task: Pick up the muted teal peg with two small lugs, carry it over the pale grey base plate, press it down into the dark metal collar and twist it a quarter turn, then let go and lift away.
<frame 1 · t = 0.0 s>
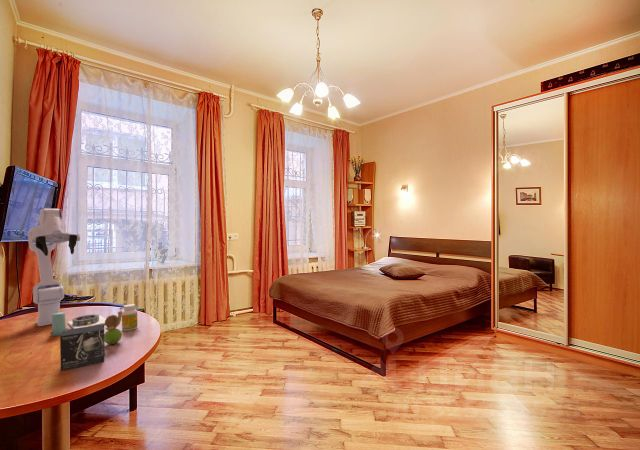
hand: (59, 252, 118), 32 cm above the table, tool tilted 50°, fingers open, 7 cm apart
box: (84, 363, 96), on the table
collar plate: (88, 323, 135), on the table
supplement bottle: (129, 329, 126), on the table
teal peg: (59, 333, 122), on the table
snail figurine: (114, 343, 111), on the table
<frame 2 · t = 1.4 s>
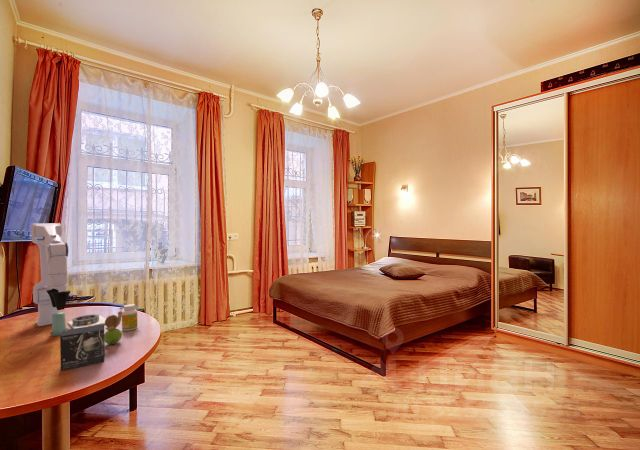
hand: (58, 308, 122), 10 cm above the table, tool pointing down, fingers open, 7 cm apart
nothing on the table moved.
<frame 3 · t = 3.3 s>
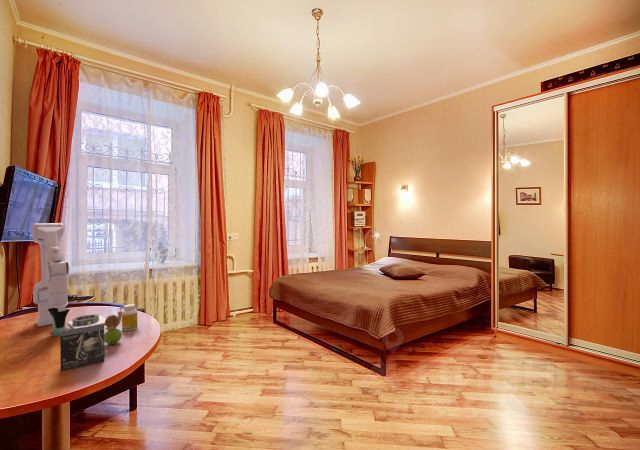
hand: (58, 326, 122), 3 cm above the table, tool pointing down, fingers closed on teal peg, 4 cm apart
teal peg: (59, 333, 122), on the table, touching gripper
everything else where it was.
when the fingers open (4 cm above the table, at t = 10.5 s): teal peg stays where it is, resting on collar plate.
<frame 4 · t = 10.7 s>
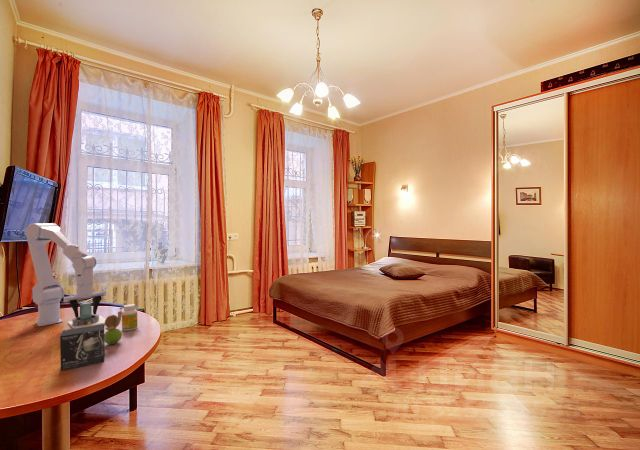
hand: (85, 315, 134), 4 cm above the table, tool pointing down, fingers open, 6 cm apart
teal peg: (85, 322, 134), point 1 cm above the table, touching collar plate
everything else where it was.
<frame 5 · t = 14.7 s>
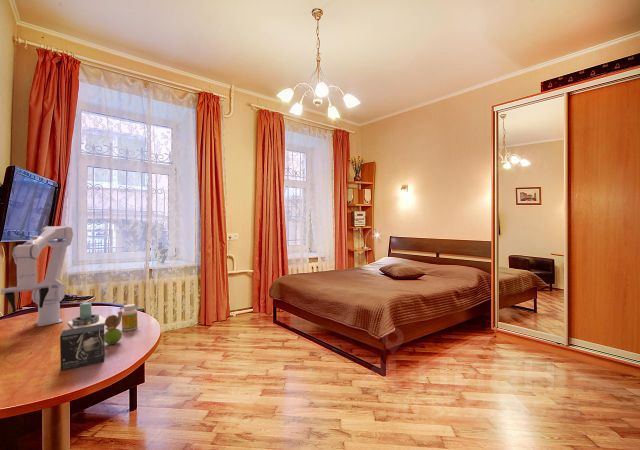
hand: (27, 309, 122), 10 cm above the table, tool pointing down, fingers open, 7 cm apart
nothing on the table moved.
at the end: teal peg 0.0 cm off-centre on the collar plate, point 0.8 cm above the collar plate's base; teal peg tilted 0°; the gripper is holding nothing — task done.
